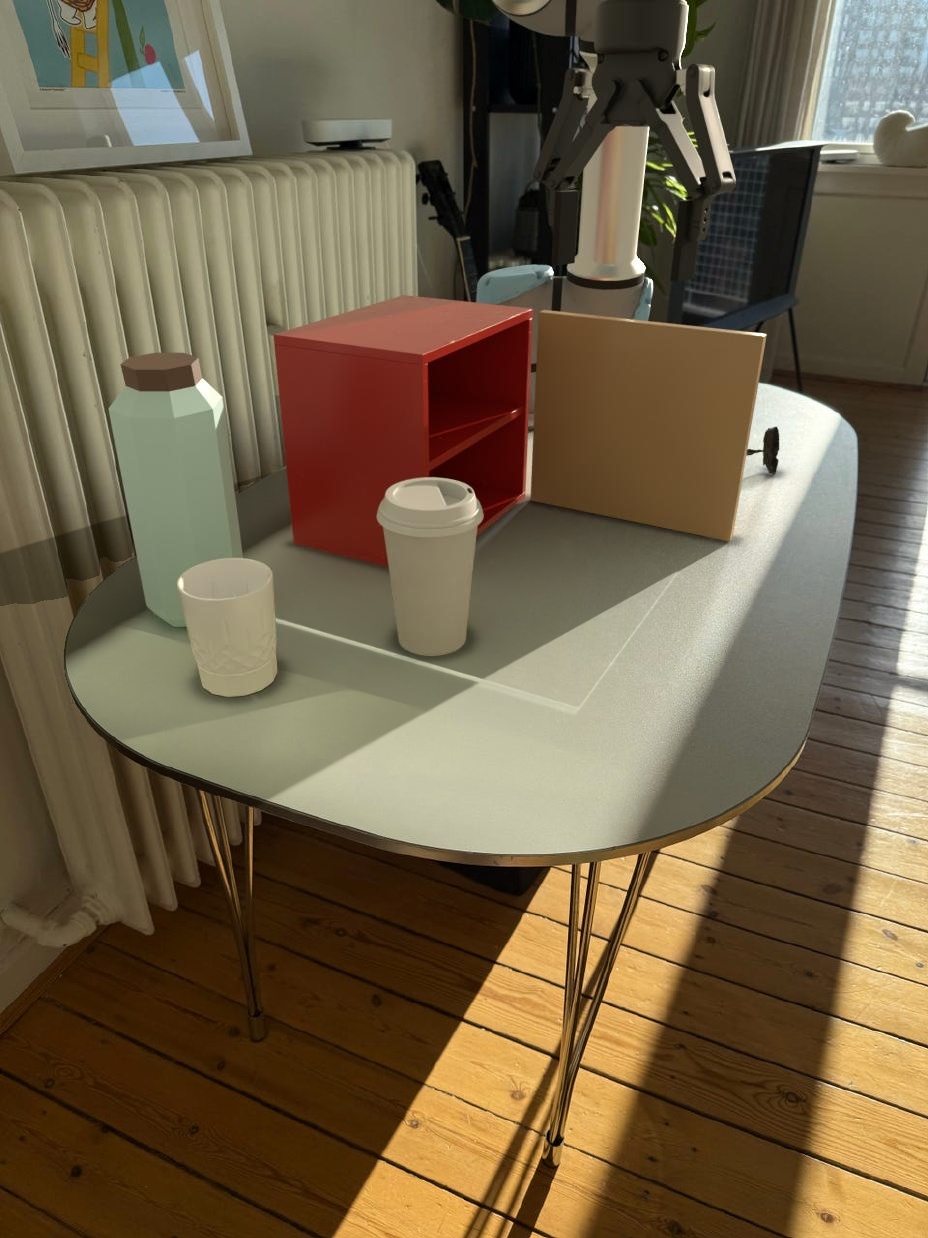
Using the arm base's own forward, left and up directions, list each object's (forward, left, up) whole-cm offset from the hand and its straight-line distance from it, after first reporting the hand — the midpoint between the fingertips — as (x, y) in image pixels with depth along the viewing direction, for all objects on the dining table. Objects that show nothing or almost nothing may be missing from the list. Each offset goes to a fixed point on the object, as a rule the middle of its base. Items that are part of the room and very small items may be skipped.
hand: (619, 271), depth 84 cm
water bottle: (+27, -33, -32) cm, 53 cm away
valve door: (-19, -1, -31) cm, 36 cm away
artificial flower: (-39, 0, -32) cm, 50 cm away
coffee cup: (+21, -8, -32) cm, 39 cm away
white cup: (+35, -21, -32) cm, 52 cm away
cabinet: (-3, -25, -31) cm, 40 cm away
